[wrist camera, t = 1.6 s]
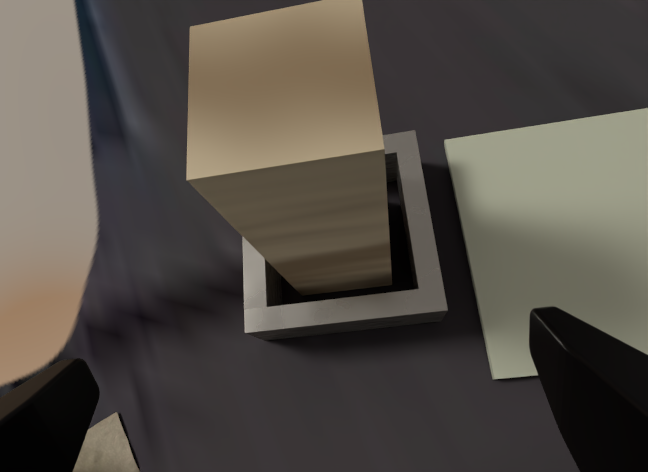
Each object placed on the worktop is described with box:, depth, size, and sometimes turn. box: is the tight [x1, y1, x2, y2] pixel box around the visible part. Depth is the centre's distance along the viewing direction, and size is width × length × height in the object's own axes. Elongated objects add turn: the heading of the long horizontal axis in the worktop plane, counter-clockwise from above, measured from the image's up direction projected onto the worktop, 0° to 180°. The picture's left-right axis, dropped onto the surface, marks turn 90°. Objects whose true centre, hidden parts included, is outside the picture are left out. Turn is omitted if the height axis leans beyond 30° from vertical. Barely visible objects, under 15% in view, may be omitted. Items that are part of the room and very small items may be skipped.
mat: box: [444, 108, 648, 379], centre depth 21 cm, size 12×12×1 cm
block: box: [187, 0, 392, 296], centre depth 17 cm, size 4×4×13 cm
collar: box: [243, 130, 448, 341], centre depth 21 cm, size 8×8×3 cm
